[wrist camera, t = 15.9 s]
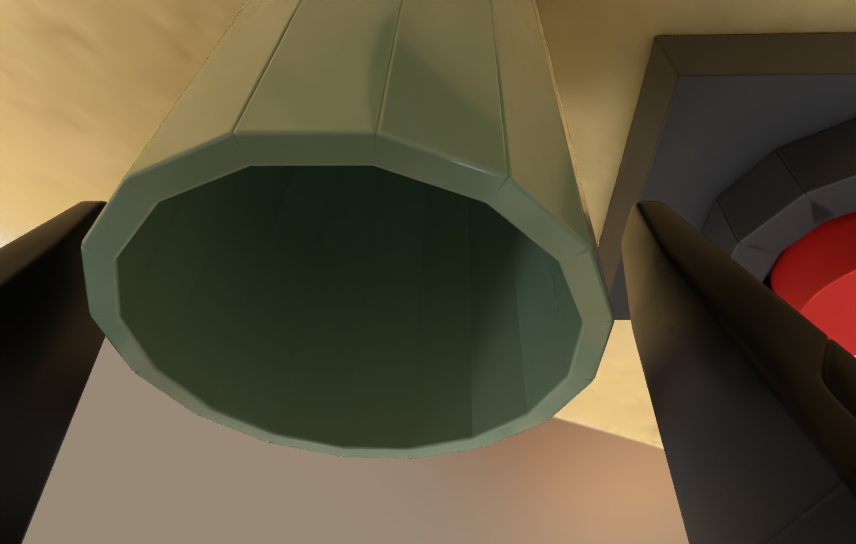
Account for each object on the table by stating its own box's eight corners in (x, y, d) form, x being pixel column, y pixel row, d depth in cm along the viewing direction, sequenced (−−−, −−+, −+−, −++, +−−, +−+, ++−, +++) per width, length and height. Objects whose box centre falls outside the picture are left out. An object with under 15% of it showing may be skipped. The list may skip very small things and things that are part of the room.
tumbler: (552, -126, 12) (682, 129, 5) (522, 146, 17) (566, 463, 10) (240, -116, 12) (-52, 134, 5) (302, 147, 17) (194, 454, 10)
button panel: (1108, 28, 13) (1275, 113, 11) (894, 276, 20) (963, 369, 17) (655, 35, 14) (702, 117, 11) (590, 274, 21) (610, 363, 18)
